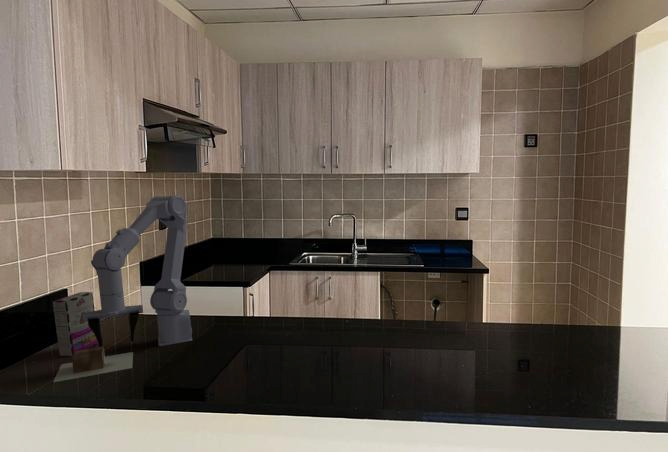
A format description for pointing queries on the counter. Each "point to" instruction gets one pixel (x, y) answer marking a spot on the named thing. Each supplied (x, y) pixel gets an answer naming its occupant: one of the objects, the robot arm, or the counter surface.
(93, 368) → the walnut block
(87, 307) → the candy bar box
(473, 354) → the counter surface
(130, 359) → the cream board
